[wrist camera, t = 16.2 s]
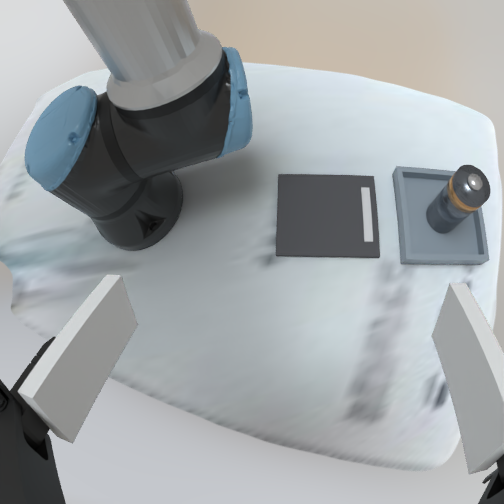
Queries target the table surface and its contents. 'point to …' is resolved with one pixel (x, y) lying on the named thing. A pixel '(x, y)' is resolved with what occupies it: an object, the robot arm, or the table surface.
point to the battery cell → (458, 199)
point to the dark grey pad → (327, 216)
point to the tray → (419, 231)
